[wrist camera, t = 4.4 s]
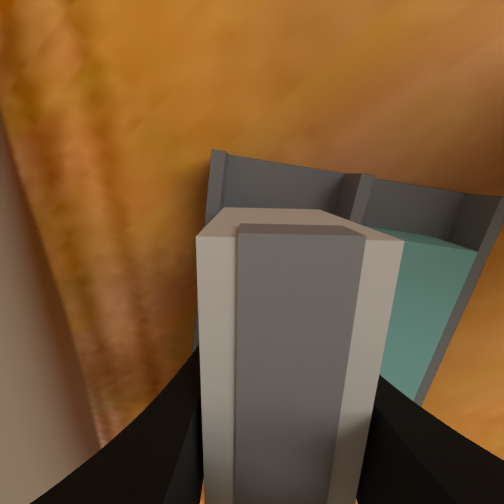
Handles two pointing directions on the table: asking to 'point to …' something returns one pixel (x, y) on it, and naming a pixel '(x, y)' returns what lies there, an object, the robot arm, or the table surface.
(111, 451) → the robot arm
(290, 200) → the grey divided tray
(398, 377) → the teal rectangular prism
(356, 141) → the table surface
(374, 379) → the grey striped bar
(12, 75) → the table surface
